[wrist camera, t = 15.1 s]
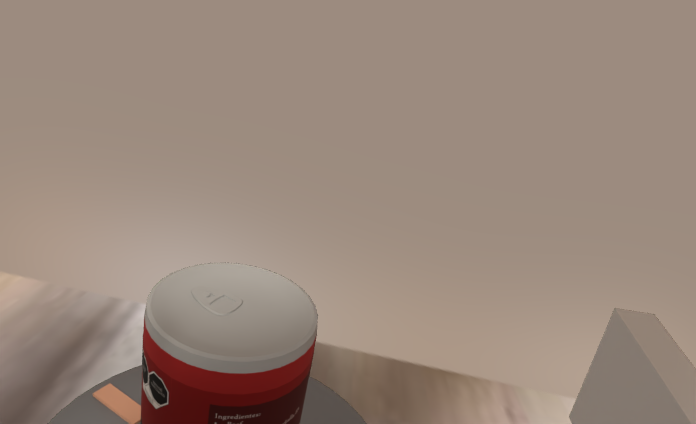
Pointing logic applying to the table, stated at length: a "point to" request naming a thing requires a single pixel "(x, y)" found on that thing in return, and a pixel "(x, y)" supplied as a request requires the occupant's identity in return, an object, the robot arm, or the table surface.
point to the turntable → (125, 404)
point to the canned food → (226, 347)
